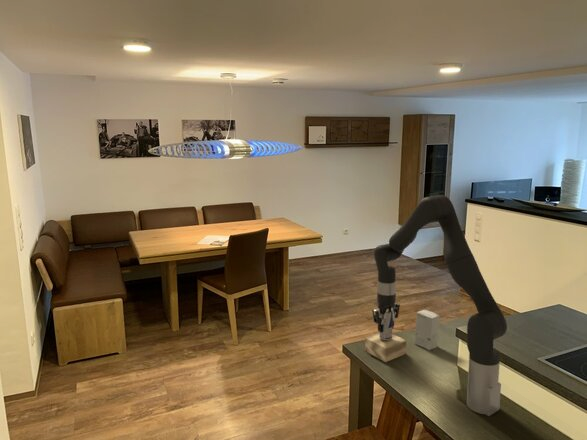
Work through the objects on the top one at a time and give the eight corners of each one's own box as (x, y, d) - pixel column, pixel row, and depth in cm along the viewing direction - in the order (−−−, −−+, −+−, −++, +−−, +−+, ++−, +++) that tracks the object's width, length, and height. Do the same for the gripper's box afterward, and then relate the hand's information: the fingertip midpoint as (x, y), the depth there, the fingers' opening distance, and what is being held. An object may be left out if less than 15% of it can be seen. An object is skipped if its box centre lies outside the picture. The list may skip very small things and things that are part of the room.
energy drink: (394, 337, 185) (395, 310, 183) (387, 341, 181) (388, 314, 179) (383, 333, 188) (383, 307, 186) (376, 338, 185) (377, 311, 182)
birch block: (406, 353, 184) (406, 340, 183) (385, 362, 178) (385, 348, 177) (385, 343, 194) (385, 330, 193) (365, 350, 188) (365, 337, 187)
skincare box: (414, 343, 193) (415, 311, 190) (422, 340, 197) (423, 308, 194) (430, 350, 186) (431, 317, 184) (439, 346, 190) (440, 314, 187)
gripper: (380, 297, 174) (380, 337, 177) (405, 290, 182) (404, 328, 185) (367, 292, 180) (367, 331, 183) (392, 285, 188) (391, 323, 191)
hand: (385, 330), depth 184 cm, fingers closed on energy drink, 5 cm apart
